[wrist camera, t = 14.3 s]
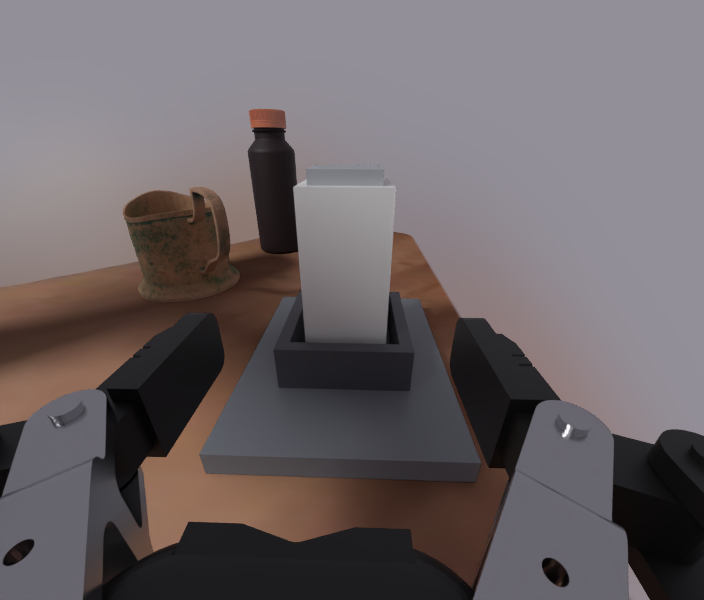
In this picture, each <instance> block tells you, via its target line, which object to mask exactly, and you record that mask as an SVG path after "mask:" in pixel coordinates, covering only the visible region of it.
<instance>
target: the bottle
mask: <svg viewBox="0 0 704 600" xmlns="http://www.w3.org/2000/svg"><path fill="white" fill-rule="evenodd" d="M249 114H250V121H251V128H254V130H253V131H252V132H254V134H255V141H254V142H253V144H252V145H251V146H250V148H249V150H248V157H249V164H250V171H251V179H252V186H253V193H254V200H255V207H256V214H257V221H258V229H259V236H260V244H261V249H262V250H263V251H265V252H268V253H289V252H293V251H296V250H298V241H297V229H296V216H295V204H294V191H293V187H294V186H296V185H297V180H296V166H295V153H294V150H293V149H292V147H291V146H290V145H289V144H288V143H287V142H286V141H285V137H284V133H285V132H286V131H285V130H284V129H286V121H285V112H284V111H282V110H274V109H253V110H250V111H249Z"/></svg>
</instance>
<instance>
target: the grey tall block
mask: <svg viewBox="0 0 704 600" xmlns="http://www.w3.org/2000/svg"><path fill="white" fill-rule="evenodd" d="M293 191H294V204H295V216H296V229H297V241H298V254H299V266H300V279H301V292H302V304H303V317H304V329H305V342H306V343H351V344H386V333H387V318H388V303H389V288H390V273H391V257H392V242H393V227H394V211H395V197H396V196H395V195H396V187H395V186H394V185H393V184H392V183H391V182H390V181H389V180H388V179H386V178H385V179H384V169H383V168H382V167H380V166H360V165H353V166H351V165H316V166H313V167H310V168H307V169H306V180H304V181H303V182H301V183H299V184H297V185H296V186H294V187H293Z"/></svg>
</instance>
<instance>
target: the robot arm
mask: <svg viewBox="0 0 704 600" xmlns="http://www.w3.org/2000/svg"><path fill="white" fill-rule="evenodd" d="M223 364H224V349H223V345H222V340H221V336H220V332H219V327H218V323H217V319H216V317H215V315H214V314H212V313H187V314H186V315H184V316H183V317H182V318H181V319H180V320H179V321H178V322H177V323H176V324H175V325H174V326H173V327H170V328H169V329H167V330H165V331H163V332H161V333H159V334H158V335H156V336H154V337H153V338H152V339H151V340H150V341H149V342H148V343H146V344H145V345H144V346H143V349H140V350H139V351H138V352H136V353H135V354H134V355H133V358H130V359H129V360H128V361H126V362H125V363H124V364H123V365H122V366H121V367H120V368H119V369H118V370H116V371H115V372H114V373H113V374H112V375H111V376H110V377H109V378H108V379H106V380H105V381H104V382H103V383H102V384H101V385H100V386H99V387H98V388H96V389H88V390H81V391H76V392H73V393H70V394H67V395H64V396H62V397H59V398H57V399H55V400H53V401H51V402H50V403H48V404H46V405H45V406H43V407H42V408H40V409H39V410H38V411H36V412H35V413H34V414H33V415H32V416H31V417H30V418H29V419H28V420H26V421H21V422H16V423H11V424H6V425H1V426H0V600H629V595H628V563H629V565H630V567H631V568H632V570H633V572H634V573H635V575H636V577H637V578H638V580H639V582H640V583H641V585H642V587H643V588H644V590H645V592H646V594H647V595H648V597H649V599H650V600H704V436H702V435H699V434H696V433H693V432H689V431H685V430H667V431H664V432H663V433H662V434H661V435H660V437H659V438H658V440H657V441H656V443H655V444H650V443H646V442H642V441H638V440H634V439H630V438H626V437H623V436H619V435H615V434H612V433H611V432H610V430H609V429H608V427H607V426H606V425H605V424H604V423H603V422H602V421H601V420H600V419H599V418H597V417H596V416H595V415H593V414H592V413H590V412H589V411H587V410H585V409H583V408H581V407H579V406H577V405H574V404H571V403H568V402H564V401H561V400H560V398H559V397H558V396H557V395H556V393H555V392H554V391H553V390H552V388H551V387H550V386H549V385H548V383H547V382H546V381H545V380H544V378H543V377H542V376H541V375H540V373H539V372H538V371H537V370H536V368H535V367H533V366H532V363H531V362H530V361H529V360H528V358H527V357H525V354H524V353H523V352H522V351H521V349H520V348H519V347H518V346H517V344H516V343H514V342H513V341H511V340H510V339H508V338H507V337H505V336H504V335H502V334H496V333H495V332H494V330H493V329H492V328H491V326H490V325H489V324H488V322H487V321H486V320H485V319H484V318H459V319H458V321H457V324H456V330H455V335H454V340H453V346H452V351H451V357H450V369H451V374H452V377H453V380H454V382H455V385H456V387H457V390H458V392H459V395H460V397H461V400H462V402H463V405H464V407H465V410H466V412H467V415H468V417H469V420H470V422H471V425H472V427H473V430H474V432H475V435H476V437H477V440H478V442H479V445H480V447H481V450H482V452H483V455H484V457H485V460H486V462H487V465H488V467H489V468H505V469H506V471H507V474H508V476H509V480H508V482H507V485H506V488H505V491H504V494H503V497H502V500H501V502H500V505H499V508H498V511H497V514H496V517H495V520H494V523H493V526H492V529H491V531H490V534H489V537H488V540H487V543H486V546H485V549H484V552H483V554H482V557H481V560H480V563H479V565H478V568H477V571H476V574H475V577H474V579H473V582H472V585H471V587H470V586H469V585H468V584H467V583H466V582H465V581H464V580H463V579H462V578H460V577H459V576H458V575H457V574H456V573H455V572H453V571H452V570H451V569H450V568H448V567H447V566H445V565H444V564H442V563H441V562H439V561H438V560H436V559H434V558H433V557H431V556H429V555H427V554H425V553H423V552H420V551H417V550H415V549H413V548H412V540H411V532H410V529H385V528H356V527H355V528H351V529H347V530H344V531H340V532H336V533H332V534H329V535H325V536H321V537H317V538H314V539H310V540H306V541H302V542H291V541H288V540H285V539H282V538H280V537H277V536H274V535H272V534H269V533H266V532H263V531H261V530H258V529H255V528H253V527H250V526H247V525H245V524H238V523H209V522H188V524H187V526H186V529H185V531H184V533H183V535H182V537H181V539H180V541H179V543H176V544H173V545H170V546H168V547H165V548H162V549H160V550H158V551H156V552H153V549H152V545H151V541H150V536H149V527H148V516H147V506H146V496H145V485H144V475H143V470H142V468H141V466H140V465H141V464H142V462H143V461H144V460H145V458H146V457H166V456H167V455H168V453H169V452H170V450H171V448H172V447H173V445H174V444H175V442H176V441H177V439H178V437H179V436H180V434H181V433H182V431H183V430H184V428H185V426H186V425H187V423H188V422H189V420H190V419H191V417H192V415H193V414H194V412H195V411H196V409H197V408H198V406H199V404H200V403H201V401H202V400H203V398H204V397H205V395H206V393H207V392H208V390H209V389H210V387H211V386H212V384H213V382H214V381H215V379H216V378H217V376H218V375H219V373H220V371H221V370H222V367H223Z"/></svg>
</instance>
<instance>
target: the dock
mask: <svg viewBox="0 0 704 600" xmlns="http://www.w3.org/2000/svg"><path fill="white" fill-rule="evenodd" d="M199 455H200V458H201V461H202V464H203V467H204V469H205V472H206V473H209V474H239V475H270V476H301V477H332V478H363V479H394V480H424V481H455V482H476V479H477V475H478V472H479V469H480V466H481V461H480V459H479V456H478V453H477V451H476V448H475V445H474V443H473V440H472V437H471V435H470V432H469V430H468V427H467V424H466V422H465V419H464V416H463V414H462V411H461V408H460V406H459V403H458V401H457V398H456V395H455V393H454V390H453V387H452V385H451V382H450V379H449V377H448V374H447V371H446V369H445V366H444V364H443V361H442V358H441V356H440V353H439V350H438V348H437V345H436V342H435V340H434V337H433V335H432V332H431V329H430V327H429V324H428V321H427V319H426V316H425V313H424V311H423V308H422V305H421V303H420V300H419V299H401V298H400V294H399V292H389V303H388V318H387V333H386V344H351V343H306V342H305V329H304V317H303V304H302V292H301V290H300V291H299V293H298V295H297V297H283V299H282V301H281V302H280V304H279V306H278V308H277V310H276V312H275V314H274V316H273V317H272V319H271V321H270V323H269V325H268V327H267V329H266V331H265V332H264V334H263V336H262V338H261V340H260V342H259V344H258V346H257V347H256V349H255V351H254V353H253V355H252V357H251V359H250V361H249V362H248V364H247V366H246V368H245V370H244V372H243V374H242V376H241V377H240V379H239V381H238V383H237V385H236V387H235V389H234V391H233V392H232V394H231V396H230V398H229V400H228V402H227V404H226V406H225V407H224V409H223V411H222V413H221V415H220V417H219V419H218V421H217V422H216V424H215V426H214V428H213V430H212V432H211V434H210V436H209V437H208V439H207V441H206V443H205V445H204V447H203V449H202V451H201V452H200V454H199Z"/></svg>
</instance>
